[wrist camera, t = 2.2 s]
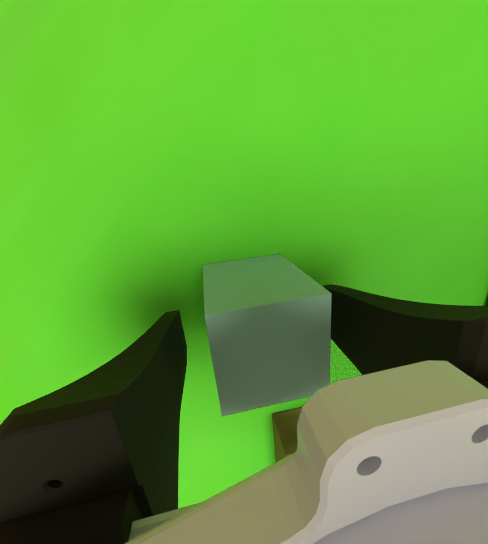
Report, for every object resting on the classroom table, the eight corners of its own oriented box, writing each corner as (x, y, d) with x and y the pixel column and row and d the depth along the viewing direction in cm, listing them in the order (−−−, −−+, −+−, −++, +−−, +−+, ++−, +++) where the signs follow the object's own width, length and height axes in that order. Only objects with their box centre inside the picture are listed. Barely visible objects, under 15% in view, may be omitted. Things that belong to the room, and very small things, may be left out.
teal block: (279, 253, 14) (331, 293, 8) (283, 320, 16) (329, 391, 10) (202, 264, 14) (204, 315, 8) (213, 332, 15) (222, 416, 9)
